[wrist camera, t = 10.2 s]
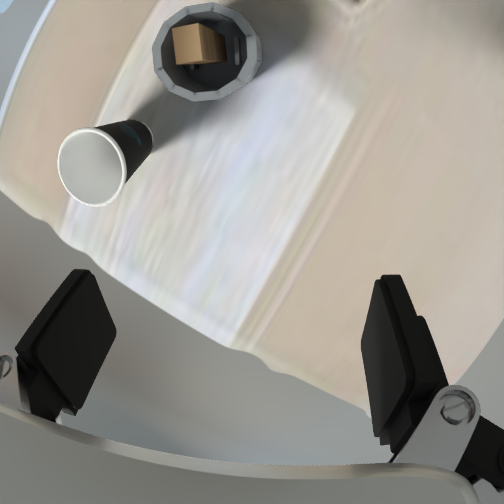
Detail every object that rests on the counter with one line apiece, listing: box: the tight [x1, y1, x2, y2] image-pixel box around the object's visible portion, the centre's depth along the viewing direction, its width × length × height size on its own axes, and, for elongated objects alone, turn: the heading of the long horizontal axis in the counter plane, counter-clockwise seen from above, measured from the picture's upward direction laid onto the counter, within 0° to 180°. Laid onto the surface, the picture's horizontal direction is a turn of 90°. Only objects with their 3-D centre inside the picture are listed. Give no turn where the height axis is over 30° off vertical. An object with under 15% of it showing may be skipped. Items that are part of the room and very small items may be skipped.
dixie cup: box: [58, 120, 154, 207], centre depth 31 cm, size 8×8×11 cm
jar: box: [152, 3, 262, 102], centre depth 27 cm, size 9×9×7 cm
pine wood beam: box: [172, 23, 228, 64], centre depth 24 cm, size 2×3×11 cm, turn 5°
